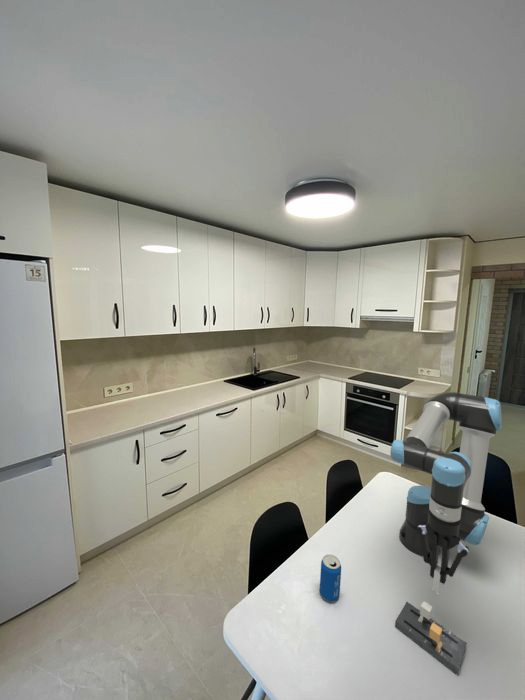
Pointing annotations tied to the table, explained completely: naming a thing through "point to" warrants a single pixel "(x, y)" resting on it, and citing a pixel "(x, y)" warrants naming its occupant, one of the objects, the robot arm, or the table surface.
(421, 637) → the console
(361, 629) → the table surface
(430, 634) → the fader
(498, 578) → the table surface
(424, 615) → the fader
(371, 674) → the table surface
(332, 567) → the beverage can
